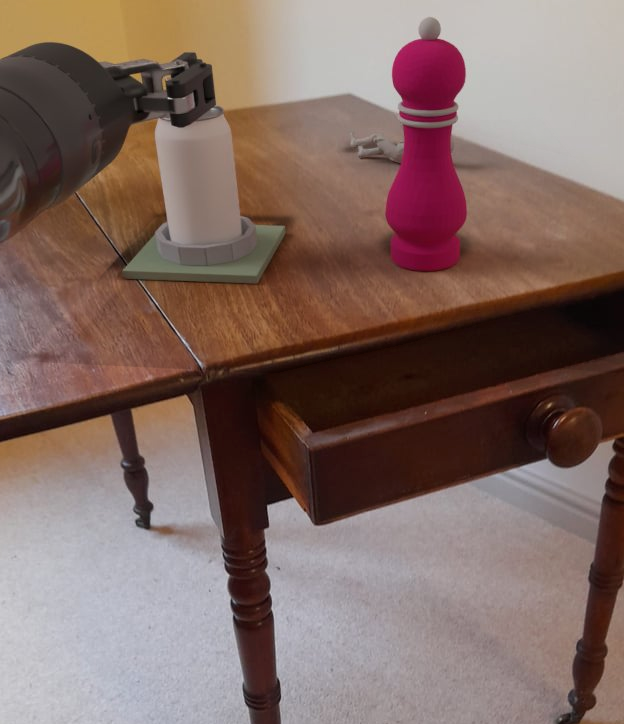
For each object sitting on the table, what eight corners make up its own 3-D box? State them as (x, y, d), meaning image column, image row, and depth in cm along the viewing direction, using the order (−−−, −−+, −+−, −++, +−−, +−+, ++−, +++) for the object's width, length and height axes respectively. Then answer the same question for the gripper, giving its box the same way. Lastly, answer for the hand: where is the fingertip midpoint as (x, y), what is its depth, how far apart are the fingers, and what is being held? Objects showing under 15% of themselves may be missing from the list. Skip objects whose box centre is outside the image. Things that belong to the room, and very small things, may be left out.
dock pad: (123, 279, 76) (118, 252, 75) (166, 229, 86) (162, 204, 85) (257, 284, 75) (254, 256, 74) (285, 233, 85) (283, 208, 84)
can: (166, 261, 77) (143, 121, 71) (178, 234, 83) (159, 102, 76) (238, 260, 77) (223, 120, 71) (246, 233, 83) (233, 101, 76)
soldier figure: (369, 157, 109) (460, 131, 105) (371, 192, 108) (464, 167, 103) (342, 123, 102) (439, 94, 98) (344, 160, 101) (442, 132, 96)
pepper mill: (392, 241, 83) (392, 9, 72) (468, 245, 82) (479, 10, 71) (379, 271, 77) (376, 23, 66) (460, 276, 76) (471, 25, 65)
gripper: (147, 59, 45) (227, 9, 58) (-110, 55, 47) (24, 6, 60) (169, 200, 50) (238, 124, 63) (-68, 193, 51) (49, 119, 64)
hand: (134, 66), depth 61 cm, fingers open, 8 cm apart
